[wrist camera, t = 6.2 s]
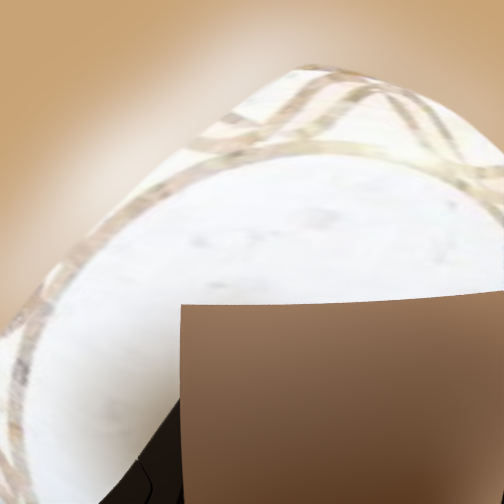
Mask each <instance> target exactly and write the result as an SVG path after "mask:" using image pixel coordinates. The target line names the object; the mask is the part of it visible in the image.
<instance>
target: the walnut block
mask: <svg viewBox="0 0 504 504" xmlns="http://www.w3.org/2000/svg"><path fill="white" fill-rule="evenodd" d="M180 420H181V449H182V469H183V485H184V499H185V504H501V501H502V496H503V491H504V291H495V292H486V293H476V294H466V295H456V296H444V297H432V298H419V299H405V300H389V301H372V302H352V303H327V304H292V305H181V324H180Z"/></svg>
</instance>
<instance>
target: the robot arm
mask: <svg viewBox="0 0 504 504" xmlns="http://www.w3.org/2000/svg"><path fill="white" fill-rule="evenodd" d="M138 460H139V461H138ZM138 460H135V462H134V463H133V464H132V466H131V467H130V468H129V470H128V471H127V472H126V474H125V475H124V476H123V477H122V479H121V480H120V481H119V483H118V484H117V485H116V486H115V487H114V488H113V489H112V490H111V491H110V492H109V493H108V494H107V496H106V497H105V498H104V499H103V500H102V501H101V502H100V503H99V504H185V499H184V485H183V469H182V449H181V420H180V398H179V400H178V401H177V403H176V404H175V405H174V407H173V408H172V410H171V411H170V413H169V414H168V415H167V417H166V418H165V420H164V421H163V422H162V424H161V425H160V427H159V428H158V430H157V431H156V432H155V434H154V435H153V437H152V438H151V439H150V441H149V442H148V444H147V445H146V446H145V448H144V449H143V451H142V452H141V453H140V455H139V456H138ZM501 504H504V491H503V496H502V501H501Z"/></svg>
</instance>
